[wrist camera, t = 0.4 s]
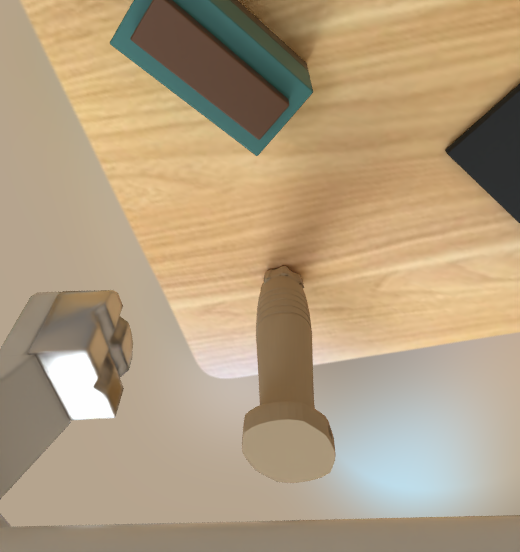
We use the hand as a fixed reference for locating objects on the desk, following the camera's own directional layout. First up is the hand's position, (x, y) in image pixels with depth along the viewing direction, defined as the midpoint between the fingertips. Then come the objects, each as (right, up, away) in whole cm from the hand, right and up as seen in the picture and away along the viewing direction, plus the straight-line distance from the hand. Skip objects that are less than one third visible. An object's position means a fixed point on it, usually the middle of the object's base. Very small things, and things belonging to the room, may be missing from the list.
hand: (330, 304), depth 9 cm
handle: (0, 0, +29) cm, 29 cm away
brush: (-4, +14, +18) cm, 23 cm away
